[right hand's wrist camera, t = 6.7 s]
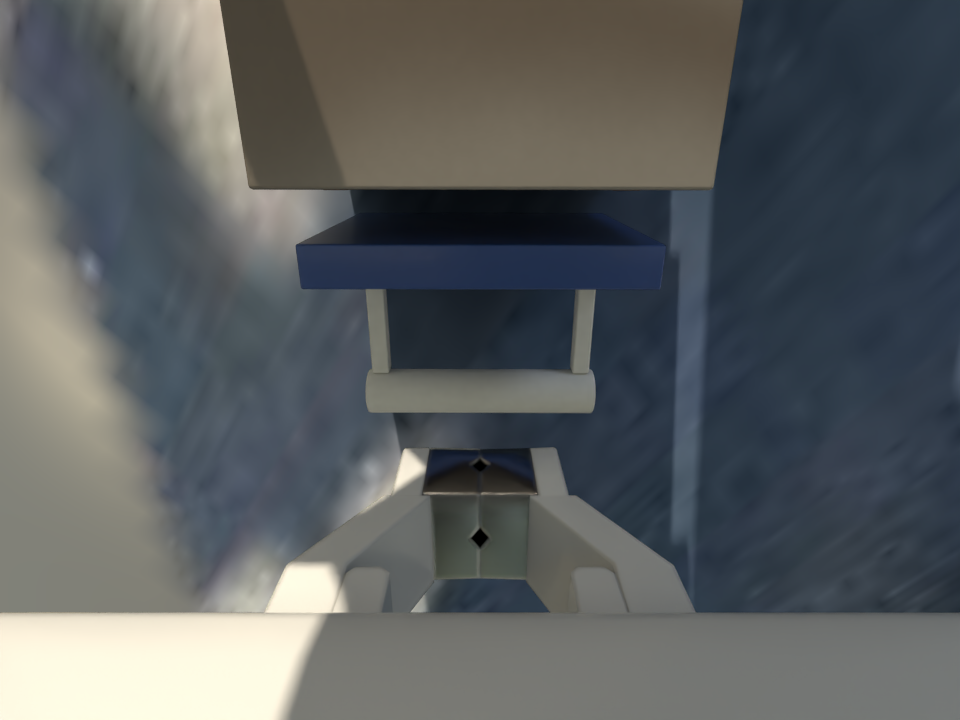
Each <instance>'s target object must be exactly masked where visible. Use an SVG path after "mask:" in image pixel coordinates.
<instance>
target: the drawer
mask: <svg viewBox="0 0 960 720" xmlns="http://www.w3.org/2000/svg"><path fill="white" fill-rule="evenodd" d="M614 191H639V190H614ZM665 252H666V245H664V244H662V243H660V242H658V241H656V240H654V239H652V238H650V237H648V236H646V235H644V234H642V233H640V232H638V231H636V230H634V229H632V228H630V227H628V226H626V225H624V224H622V223H620V222H618V221H616V220H614V219H612V218H610V217H608V216H606V215H604V214H602V213H359V214H357V215H355V216H353V217H351V218H349V219H347V220H345V221H343V222H341V223H339V224H337V225H335V226H333V227H331V228H329V229H327V230H325V231H323V232H321V233H319V234H317V235H315V236H313V237H311V238H309V239H307V240H305V241H303V242H301V243H299V244H297V245H296V253H297V261H298V268H299V276H300V284H301V288H302V289H366V298H367V310H368V322H369V334H370V347H371V359H372V369H370V370H369V372H368V375H367V380H366V404H367V408H368V411H369V412H391V413H591V412H592V411H593V409H594V405H595V395H596V389H595V379H594V374H593V372H592V370H590V369H589V362H590V351H591V339H592V328H593V316H594V304H595V293H596V290H659V289H660V288H661V282H662V275H663V267H664V260H665ZM386 289H482V290H576V291H575V305H574V319H573V333H572V347H571V361H570V368H571V369H391V354H390V339H389V324H388V309H387V294H386Z"/></svg>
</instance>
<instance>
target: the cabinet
mask: <svg viewBox="0 0 960 720" xmlns="http://www.w3.org/2000/svg"><path fill="white" fill-rule="evenodd" d="M220 5H221V11H222V18H223V24H224V30H225V37H226V43H227V50H228V56H229V63H230V69H231V75H232V82H233V88H234V95H235V101H236V108H237V114H238V120H239V127H240V133H241V140H242V146H243V153H244V159H245V165H246V172H247V178H248V185H249V187H250V188H251V189H295V190H711V189H713V186H714V180H715V174H716V168H717V162H718V155H719V149H720V143H721V137H722V130H723V124H724V118H725V112H726V105H727V99H728V93H729V87H730V80H731V74H732V68H733V62H734V55H735V49H736V43H737V37H738V30H739V24H740V18H741V12H742V5H743V0H220Z"/></svg>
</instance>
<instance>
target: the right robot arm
mask: <svg viewBox="0 0 960 720" xmlns="http://www.w3.org/2000/svg"><path fill="white" fill-rule="evenodd" d="M473 578H486V579H522V580H526V582H527V583H528V585H529V586H530V587H531V588H532V590H533V591H534V592H535V594H536V595H537V596H538V597H539V599H540V600H541V601H542V602H543V604H544V605H545V606H546V608H547V609H548V610H549V611H550V613H410V612H411V610H412V609H413V608H414V607H415V605H416V604H417V603H418V602H419V600H420V599H421V598H422V597H423V595H424V594H425V593H426V591H427V590H428V589H429V588H430V586H431V585H432V584H433V583H434V580H438V579H473ZM0 720H960V613H815V612H761V613H696V612H695V609H694V607H693V605H692V603H691V601H690V599H689V597H688V595H687V592H686V590H685V588H684V586H683V584H682V582H681V580H680V578H679V575H678V573H677V571H676V569H675V567H674V565H673V564H671V563H670V562H668V561H667V560H666V559H664V558H663V557H661V556H660V555H659V554H657V553H656V552H654V551H653V550H652V549H650V548H649V547H647V546H646V545H645V544H643V543H642V542H640V541H639V540H638V539H636V538H635V537H633V536H632V535H631V534H629V533H628V532H626V531H625V530H624V529H622V528H621V527H619V526H618V525H617V524H615V523H614V522H613V521H611V520H610V519H608V518H607V517H606V516H604V515H603V514H601V513H600V512H599V511H597V510H596V509H594V508H593V507H592V506H590V505H589V504H587V503H586V502H585V501H583V500H582V499H580V498H579V497H578V496H576V495H569V494H568V490H567V486H566V483H565V479H564V475H563V471H562V468H561V464H560V460H559V456H558V453H557V449H556V448H554V447H549V448H517V449H463V448H431V449H430V448H429V447H428V448H405V449H404V450H403V452H402V456H401V460H400V463H399V467H398V471H397V475H396V479H395V482H394V486H393V490H392V494H391V495H384V496H382V497H381V498H380V499H378V500H377V501H375V502H374V503H373V504H371V505H370V506H368V507H367V508H366V509H364V510H363V511H361V512H360V513H359V514H357V515H356V516H354V517H353V518H352V519H350V520H349V521H347V522H346V523H345V524H343V525H342V526H340V527H339V528H338V529H336V530H335V531H333V532H332V533H331V534H329V535H328V536H326V537H325V538H323V539H322V540H321V541H319V542H318V543H316V544H315V545H314V546H312V547H311V548H309V549H308V550H307V551H305V552H304V553H302V554H301V555H300V556H298V557H297V558H295V559H294V560H293V561H291V562H290V563H288V564H287V565H286V567H285V570H284V572H283V574H282V576H281V578H280V580H279V582H278V584H277V586H276V588H275V591H274V593H273V595H272V597H271V599H270V601H269V603H268V605H267V607H266V609H265V612H264V613H132V612H131V613H130V612H128V613H127V612H125V613H124V612H122V613H121V612H119V613H115V612H107V613H106V612H105V613H103V612H102V613H99V612H98V613H95V612H91V613H90V612H89V613H88V612H85V613H84V612H81V613H76V612H75V613H74V612H73V613H72V612H67V613H65V612H63V613H62V612H56V613H55V612H48V613H47V612H45V613H44V612H41V613H40V612H39V613H37V612H35V613H34V612H33V613H32V612H30V613H29V612H28V613H27V612H25V613H24V612H22V613H21V612H20V613H18V612H14V613H13V612H12V613H11V612H8V613H6V612H5V613H0Z"/></svg>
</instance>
